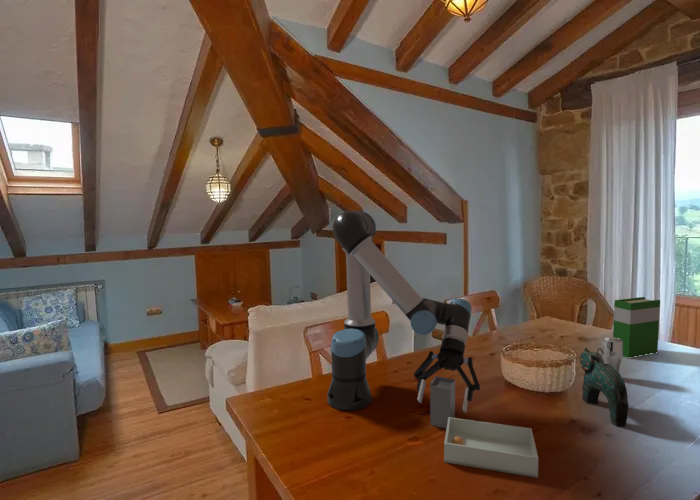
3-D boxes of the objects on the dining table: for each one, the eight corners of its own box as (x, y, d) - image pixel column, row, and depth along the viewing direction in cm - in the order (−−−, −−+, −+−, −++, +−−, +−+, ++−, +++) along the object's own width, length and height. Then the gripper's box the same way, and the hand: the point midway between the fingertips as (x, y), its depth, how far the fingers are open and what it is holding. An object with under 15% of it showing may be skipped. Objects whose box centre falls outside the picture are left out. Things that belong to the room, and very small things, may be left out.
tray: (444, 461, 104) (444, 443, 103) (448, 433, 117) (448, 416, 116) (537, 477, 97) (538, 458, 96) (531, 445, 110) (531, 428, 110)
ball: (455, 432, 109) (458, 434, 111) (448, 441, 109) (451, 442, 111) (464, 441, 107) (467, 443, 109) (456, 450, 107) (459, 451, 109)
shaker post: (435, 415, 127) (435, 376, 126) (454, 420, 124) (455, 379, 123) (430, 424, 122) (430, 383, 121) (450, 429, 119) (450, 387, 118)
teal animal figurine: (576, 397, 138) (578, 340, 137) (595, 397, 138) (598, 340, 136) (612, 428, 119) (615, 362, 117) (634, 428, 118) (638, 361, 117)
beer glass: (625, 382, 150) (627, 342, 148) (604, 381, 151) (606, 341, 150) (616, 374, 156) (618, 337, 155) (597, 373, 158) (598, 336, 156)
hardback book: (640, 348, 186) (643, 296, 184) (657, 353, 179) (660, 300, 177) (612, 353, 180) (614, 300, 178) (628, 358, 173) (631, 303, 171)
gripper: (494, 353, 129) (486, 419, 117) (419, 342, 141) (404, 402, 129) (492, 342, 124) (483, 410, 112) (414, 331, 136) (398, 392, 124)
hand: (441, 406), depth 121 cm, fingers open, 13 cm apart
